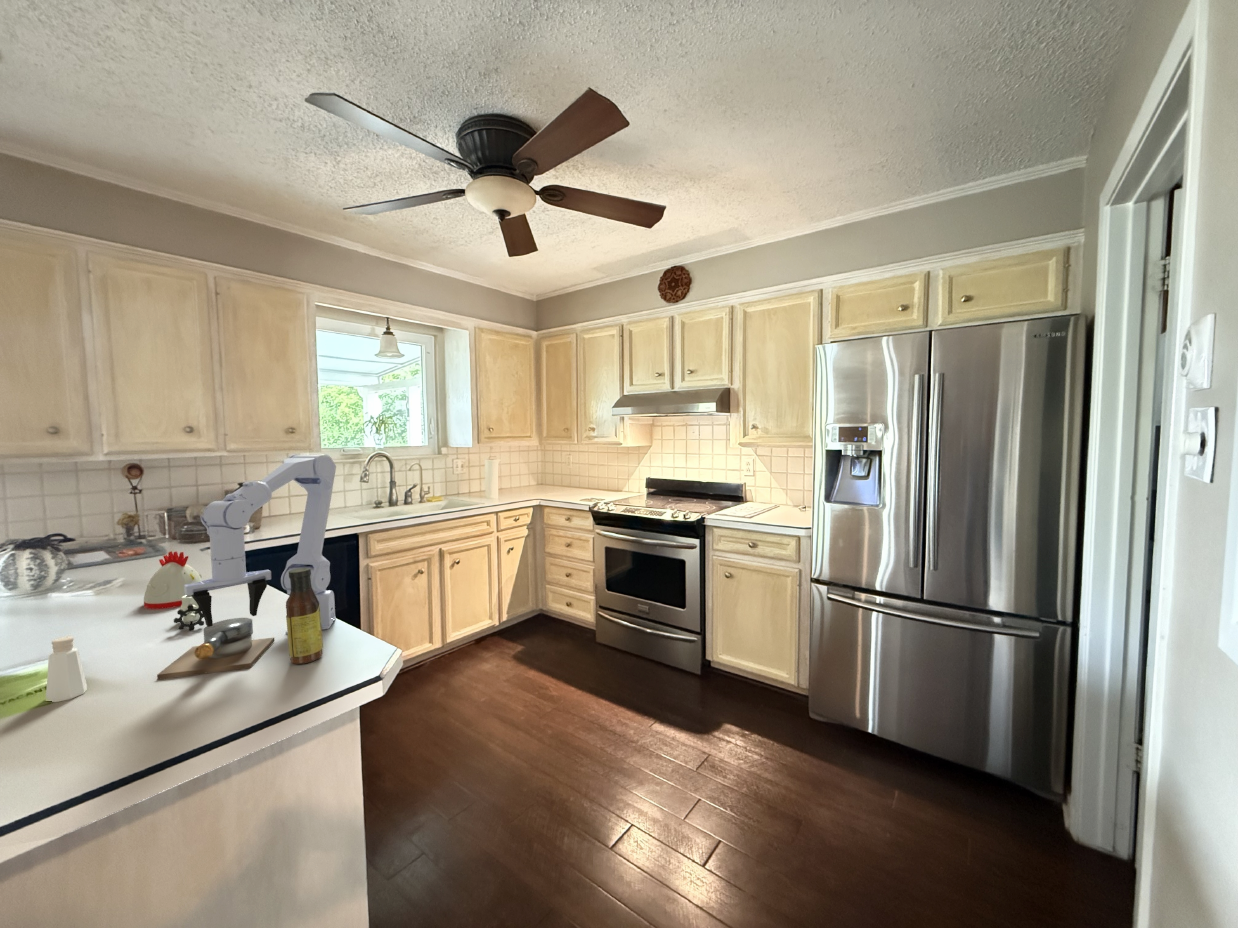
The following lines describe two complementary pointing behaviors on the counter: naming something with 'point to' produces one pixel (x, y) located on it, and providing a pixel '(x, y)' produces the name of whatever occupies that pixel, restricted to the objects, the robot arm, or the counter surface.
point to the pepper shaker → (65, 671)
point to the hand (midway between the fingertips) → (231, 619)
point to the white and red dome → (170, 582)
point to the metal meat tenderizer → (223, 635)
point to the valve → (189, 613)
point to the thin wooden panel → (218, 659)
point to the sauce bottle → (303, 619)
